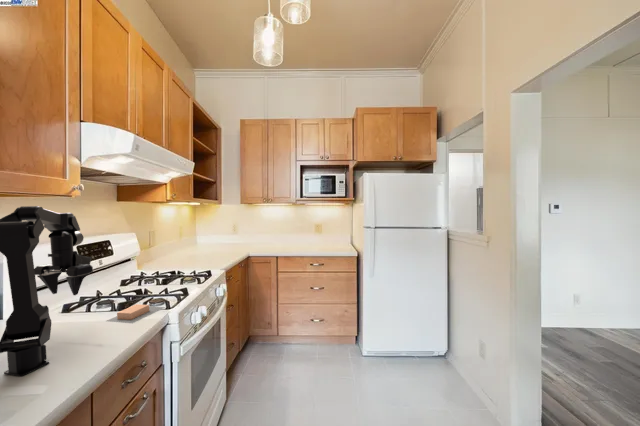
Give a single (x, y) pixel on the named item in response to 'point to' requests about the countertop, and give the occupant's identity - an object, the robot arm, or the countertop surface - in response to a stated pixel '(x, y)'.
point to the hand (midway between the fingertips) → (65, 294)
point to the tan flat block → (133, 312)
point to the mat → (151, 311)
